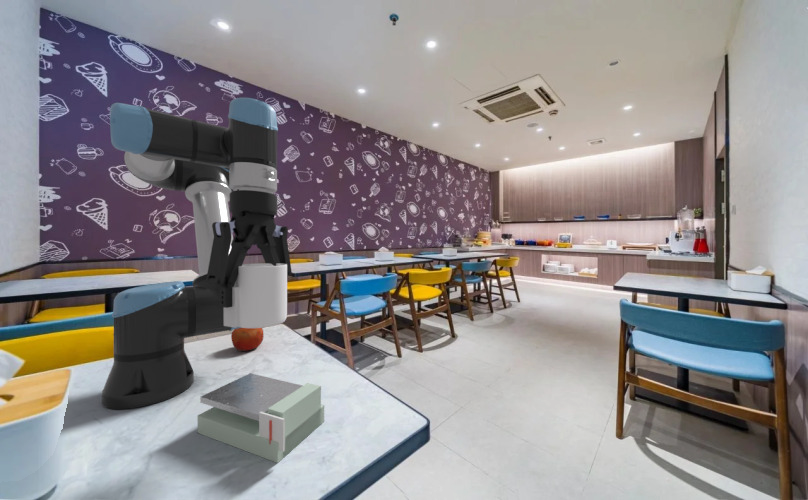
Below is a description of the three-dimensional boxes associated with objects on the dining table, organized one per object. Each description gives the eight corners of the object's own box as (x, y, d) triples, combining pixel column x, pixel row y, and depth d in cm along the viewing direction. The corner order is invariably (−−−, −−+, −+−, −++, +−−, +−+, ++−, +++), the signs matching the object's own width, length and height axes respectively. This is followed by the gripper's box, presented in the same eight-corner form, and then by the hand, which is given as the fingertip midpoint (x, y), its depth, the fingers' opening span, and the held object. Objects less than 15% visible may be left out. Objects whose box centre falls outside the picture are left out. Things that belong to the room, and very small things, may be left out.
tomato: (241, 356, 84) (241, 328, 84) (224, 350, 89) (224, 324, 89) (271, 346, 92) (271, 321, 92) (254, 341, 97) (254, 317, 96)
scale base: (197, 432, 50) (197, 392, 50) (252, 400, 60) (252, 367, 60) (282, 464, 43) (282, 417, 43) (328, 422, 53) (328, 384, 53)
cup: (249, 332, 46) (249, 267, 46) (217, 319, 53) (216, 263, 53) (296, 321, 52) (296, 264, 52) (262, 311, 60) (262, 261, 59)
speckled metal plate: (200, 413, 50) (200, 396, 50) (250, 387, 60) (250, 373, 60) (260, 434, 45) (260, 415, 45) (304, 402, 54) (304, 386, 54)
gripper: (209, 178, 40) (210, 340, 41) (311, 199, 60) (311, 309, 61) (175, 182, 43) (176, 333, 44) (282, 201, 63) (283, 306, 63)
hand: (254, 319), depth 52 cm, fingers closed on cup, 8 cm apart
